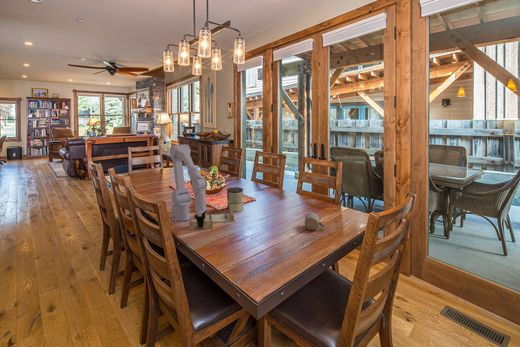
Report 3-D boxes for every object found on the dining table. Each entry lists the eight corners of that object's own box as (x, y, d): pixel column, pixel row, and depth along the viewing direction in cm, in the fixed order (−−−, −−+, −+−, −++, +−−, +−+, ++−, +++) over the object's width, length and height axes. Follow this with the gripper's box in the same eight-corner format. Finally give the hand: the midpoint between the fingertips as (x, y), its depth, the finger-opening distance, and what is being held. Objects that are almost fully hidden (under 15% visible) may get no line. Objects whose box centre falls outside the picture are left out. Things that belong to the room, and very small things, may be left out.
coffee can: (224, 210, 189) (223, 189, 187) (237, 207, 196) (236, 186, 193) (233, 213, 181) (232, 192, 179) (246, 210, 188) (246, 189, 185)
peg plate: (200, 223, 165) (200, 217, 165) (201, 216, 177) (201, 210, 176) (235, 221, 168) (235, 215, 167) (234, 214, 180) (234, 209, 179)
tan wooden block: (189, 230, 156) (189, 221, 155) (190, 227, 159) (190, 219, 159) (212, 229, 157) (212, 220, 156) (212, 226, 161) (212, 218, 160)
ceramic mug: (304, 230, 154) (304, 216, 153) (304, 224, 162) (305, 211, 161) (324, 232, 152) (325, 218, 151) (324, 226, 160) (325, 213, 159)
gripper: (207, 204, 149) (208, 229, 151) (208, 197, 163) (209, 220, 166) (193, 204, 148) (194, 230, 150) (195, 197, 162) (196, 220, 165)
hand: (201, 225), depth 158 cm, fingers open, 7 cm apart
